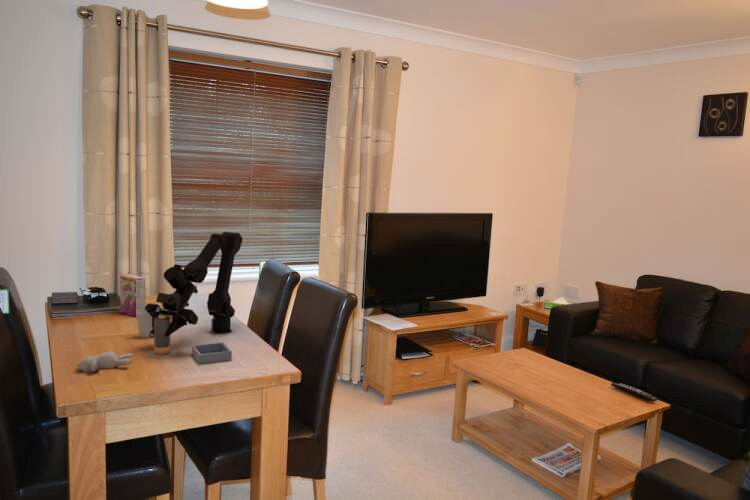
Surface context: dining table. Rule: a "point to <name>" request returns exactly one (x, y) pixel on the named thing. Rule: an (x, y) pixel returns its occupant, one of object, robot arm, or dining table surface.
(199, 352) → the dish
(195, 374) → the dining table surface
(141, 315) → the cup
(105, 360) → the bunny figurine
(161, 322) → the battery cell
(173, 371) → the dining table surface
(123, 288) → the candy bar box
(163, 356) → the pad
